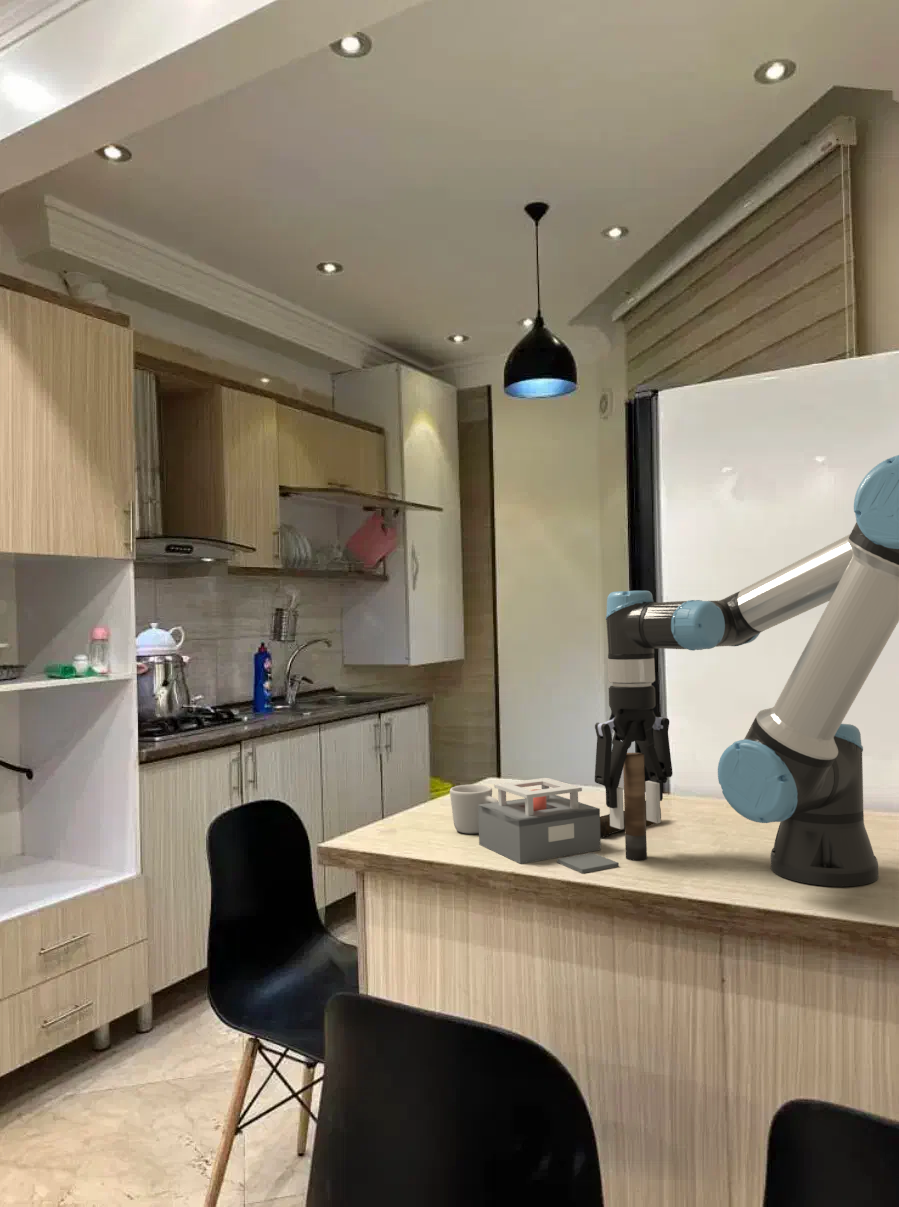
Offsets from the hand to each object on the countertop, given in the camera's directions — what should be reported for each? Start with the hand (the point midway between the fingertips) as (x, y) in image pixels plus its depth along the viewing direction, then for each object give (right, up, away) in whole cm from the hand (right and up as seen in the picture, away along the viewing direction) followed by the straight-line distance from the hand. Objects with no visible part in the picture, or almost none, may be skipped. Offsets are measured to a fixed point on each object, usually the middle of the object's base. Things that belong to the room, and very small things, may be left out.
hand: (635, 824), depth 144 cm
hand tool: (+3, -6, +20) cm, 21 cm away
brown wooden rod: (0, -6, 0) cm, 6 cm away
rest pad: (-8, -6, -3) cm, 11 cm away
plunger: (-15, -3, +8) cm, 17 cm away
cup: (-25, -7, +20) cm, 33 cm away
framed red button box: (-15, -6, +8) cm, 18 cm away
